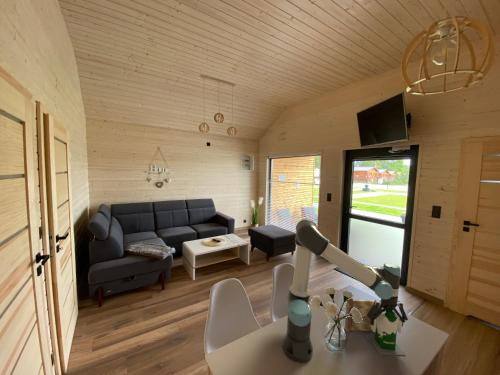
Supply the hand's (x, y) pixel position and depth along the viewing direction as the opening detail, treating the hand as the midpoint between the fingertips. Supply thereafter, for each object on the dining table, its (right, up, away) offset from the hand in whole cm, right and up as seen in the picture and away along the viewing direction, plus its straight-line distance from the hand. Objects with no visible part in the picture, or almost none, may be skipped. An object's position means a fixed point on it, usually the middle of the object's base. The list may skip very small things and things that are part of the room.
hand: (385, 330), depth 114 cm
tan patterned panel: (-4, -7, +11) cm, 13 cm away
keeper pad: (0, -8, +1) cm, 8 cm away
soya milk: (0, -8, +1) cm, 8 cm away
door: (-5, -7, +10) cm, 13 cm away
